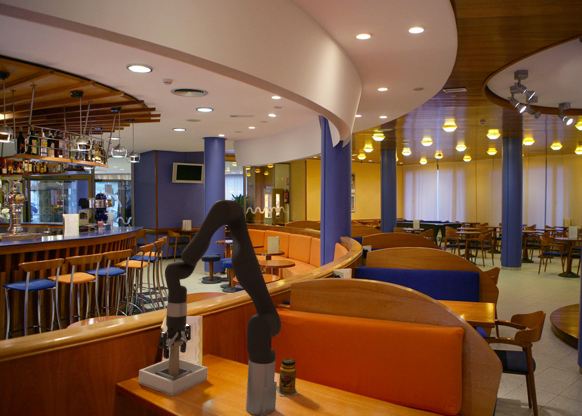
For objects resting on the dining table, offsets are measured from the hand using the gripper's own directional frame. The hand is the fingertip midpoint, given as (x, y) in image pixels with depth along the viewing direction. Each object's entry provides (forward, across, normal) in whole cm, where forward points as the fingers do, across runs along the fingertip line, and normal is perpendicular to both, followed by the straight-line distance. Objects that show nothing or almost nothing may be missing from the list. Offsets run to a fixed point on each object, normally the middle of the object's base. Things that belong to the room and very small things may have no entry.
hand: (174, 355), depth 166 cm
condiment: (+11, +20, -39) cm, 45 cm away
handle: (+9, 0, 0) cm, 9 cm away
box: (+10, 0, 0) cm, 10 cm away
